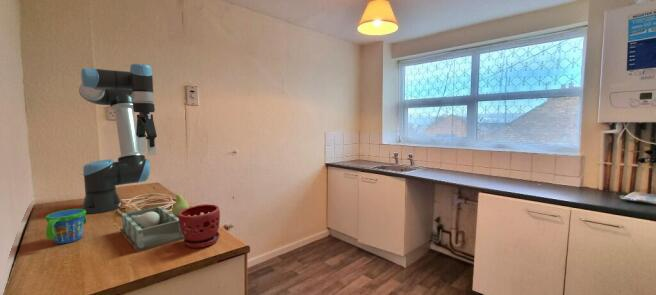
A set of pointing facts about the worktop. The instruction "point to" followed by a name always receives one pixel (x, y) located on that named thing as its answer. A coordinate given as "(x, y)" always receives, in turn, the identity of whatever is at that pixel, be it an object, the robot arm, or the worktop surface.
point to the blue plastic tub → (65, 225)
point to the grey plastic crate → (151, 230)
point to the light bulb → (146, 219)
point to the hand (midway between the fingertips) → (147, 153)
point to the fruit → (179, 204)
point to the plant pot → (200, 225)
